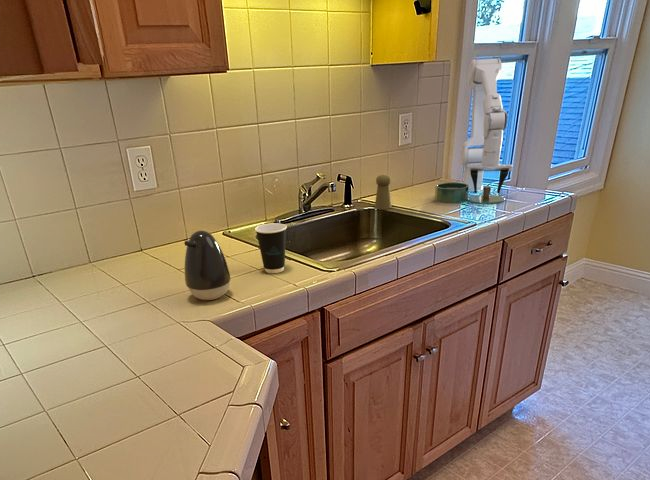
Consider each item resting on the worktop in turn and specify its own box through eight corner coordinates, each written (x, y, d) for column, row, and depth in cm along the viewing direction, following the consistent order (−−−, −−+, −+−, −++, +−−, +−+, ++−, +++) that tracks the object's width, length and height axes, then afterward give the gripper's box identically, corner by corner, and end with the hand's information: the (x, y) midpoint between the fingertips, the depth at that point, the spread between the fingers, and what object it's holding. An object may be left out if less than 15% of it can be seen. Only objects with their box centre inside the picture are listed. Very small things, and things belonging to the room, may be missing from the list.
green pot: (435, 197, 188) (436, 182, 185) (467, 197, 185) (469, 182, 182) (433, 204, 178) (434, 189, 176) (466, 205, 175) (468, 189, 172)
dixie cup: (272, 277, 124) (267, 233, 118) (253, 270, 129) (248, 228, 124) (296, 269, 128) (293, 226, 123) (277, 262, 134) (273, 221, 128)
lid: (467, 197, 185) (469, 183, 182) (503, 197, 181) (505, 183, 179) (466, 205, 175) (468, 190, 172) (504, 205, 171) (506, 190, 169)
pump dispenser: (178, 301, 114) (165, 235, 106) (206, 285, 122) (196, 223, 114) (214, 307, 110) (203, 239, 102) (241, 290, 117) (232, 226, 110)
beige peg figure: (371, 206, 181) (371, 175, 176) (385, 204, 183) (386, 172, 178) (380, 210, 176) (381, 177, 171) (394, 207, 178) (395, 175, 173)
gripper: (469, 153, 169) (464, 195, 175) (515, 152, 164) (509, 195, 171) (469, 150, 174) (465, 190, 181) (514, 149, 170) (508, 190, 177)
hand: (486, 192), depth 176 cm, fingers open, 7 cm apart
